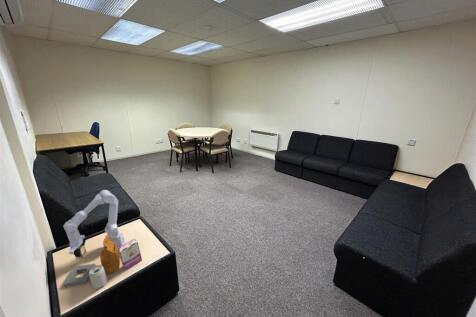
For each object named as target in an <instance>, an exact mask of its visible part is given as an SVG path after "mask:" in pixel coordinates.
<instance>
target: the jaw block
mask: <svg viewBox="0 0 476 317" xmlns="http://www.w3.org/2000/svg"><path fill="white" fill-rule="evenodd" d="M79 248H81V249H80V253H81V257H76V256H75V255H74V257H75V260H79V259H80V260H81V259H84V258H85V256H86V255H87V253H88V251H87V249H86V247H85V246H84V245H80V246H79V247H78V249H79Z"/></svg>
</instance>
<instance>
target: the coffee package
mask: <svg viewBox="0 0 476 317" xmlns="http://www.w3.org/2000/svg"><path fill="white" fill-rule="evenodd" d="M109 237H110V236H108V235H106V236H105V238H104V239H103V242H102V245H103V248H102V250H101V252H100V255H99V259H100V264H101V266H103V267H104V270H105V273H106V275H108V274H111V273H113V272H117V271H118V270H120V265H121V259H120V255H119V252H118V249H117V246H116V244H115V243H113V242H112V241H110V240H109Z"/></svg>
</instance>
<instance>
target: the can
mask: <svg viewBox="0 0 476 317" xmlns="http://www.w3.org/2000/svg"><path fill="white" fill-rule="evenodd" d="M95 265H96V264H95ZM89 277H90V279H89V281H90V282H91V286H92V288H93V289H95V290H96V289H101V288H102V287H104V286H105V285H106V284H107V282H108V277H107V274H106V273H105V270H104V267H103V266H102V265H100V264H97V265H96V266H94V267H93V268H91V269H90V271H89Z"/></svg>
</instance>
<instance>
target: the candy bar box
mask: <svg viewBox="0 0 476 317" xmlns="http://www.w3.org/2000/svg"><path fill="white" fill-rule="evenodd" d="M117 249H118V252H119V255H120V263H121V265H122V268H123V269H124V271H127V270H128V269H130V268H132V267H133V266H136V265H137V264H139V263H140V262H142V261H143V258H142V255H141V250H140V246H139V243H138V241H137V240H136V238H132V239H131V240H129V241H127V242H126V243H125V242H124V243H123V245H122V246H120V247H118V248H117Z"/></svg>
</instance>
